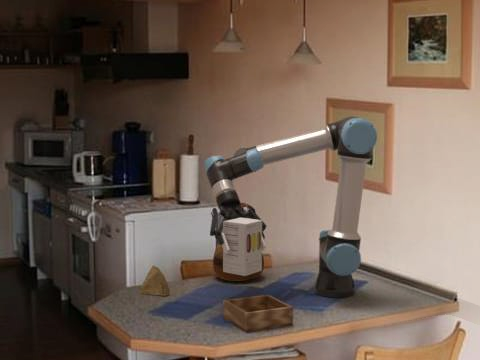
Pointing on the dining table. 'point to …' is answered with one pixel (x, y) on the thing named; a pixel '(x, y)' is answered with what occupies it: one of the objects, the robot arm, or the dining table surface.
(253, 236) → the supplement box
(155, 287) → the rock
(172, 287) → the dining table surface
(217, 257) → the ceramic pitcher
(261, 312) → the oak crate
